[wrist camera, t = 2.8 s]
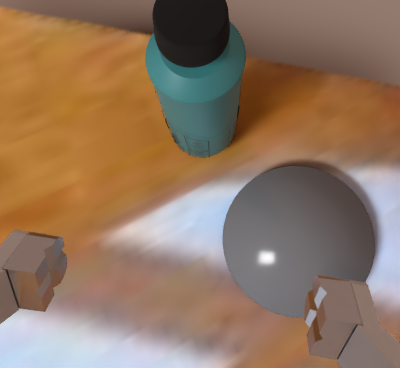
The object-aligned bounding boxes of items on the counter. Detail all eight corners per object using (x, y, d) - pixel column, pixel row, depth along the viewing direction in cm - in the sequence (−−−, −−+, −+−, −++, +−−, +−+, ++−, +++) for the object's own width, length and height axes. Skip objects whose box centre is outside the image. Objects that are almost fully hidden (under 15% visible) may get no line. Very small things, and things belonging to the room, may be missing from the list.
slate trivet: (400, 246, 35) (406, 246, 34) (292, 348, 34) (295, 351, 33) (297, 140, 38) (300, 137, 36) (193, 233, 36) (192, 232, 35)
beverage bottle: (248, 131, 38) (286, 4, 18) (202, 177, 37) (190, 96, 18) (203, 89, 39) (192, -74, 19) (157, 133, 38) (98, 10, 19)
